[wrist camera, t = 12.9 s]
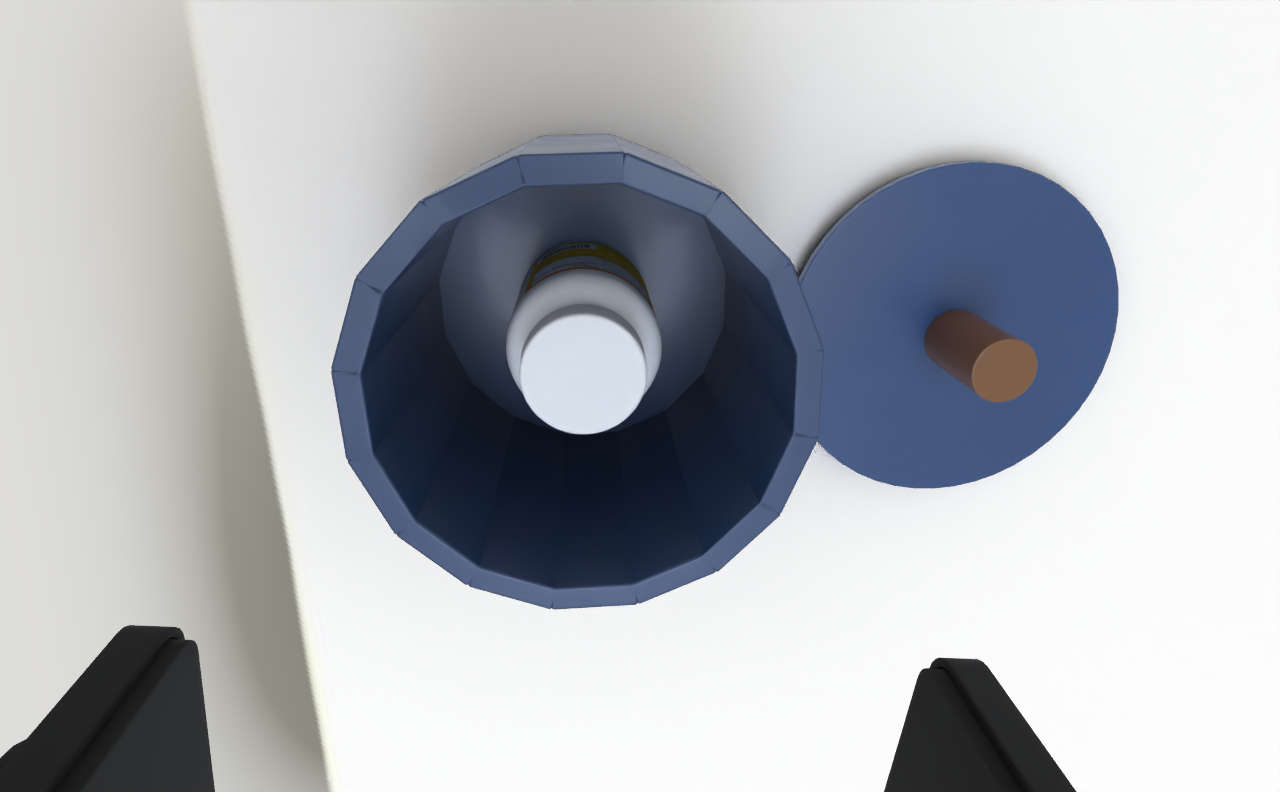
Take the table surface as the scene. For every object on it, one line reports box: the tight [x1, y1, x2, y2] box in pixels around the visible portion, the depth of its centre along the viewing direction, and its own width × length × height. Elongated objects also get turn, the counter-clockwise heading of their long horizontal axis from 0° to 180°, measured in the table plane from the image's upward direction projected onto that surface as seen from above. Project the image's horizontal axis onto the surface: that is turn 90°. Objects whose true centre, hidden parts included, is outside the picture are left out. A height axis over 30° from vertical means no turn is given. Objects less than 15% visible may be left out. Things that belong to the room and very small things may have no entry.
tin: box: [331, 134, 824, 609], centre depth 28 cm, size 14×14×12 cm
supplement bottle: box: [506, 240, 662, 434], centre depth 28 cm, size 5×5×10 cm
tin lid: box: [799, 161, 1118, 488], centre depth 32 cm, size 15×15×6 cm
